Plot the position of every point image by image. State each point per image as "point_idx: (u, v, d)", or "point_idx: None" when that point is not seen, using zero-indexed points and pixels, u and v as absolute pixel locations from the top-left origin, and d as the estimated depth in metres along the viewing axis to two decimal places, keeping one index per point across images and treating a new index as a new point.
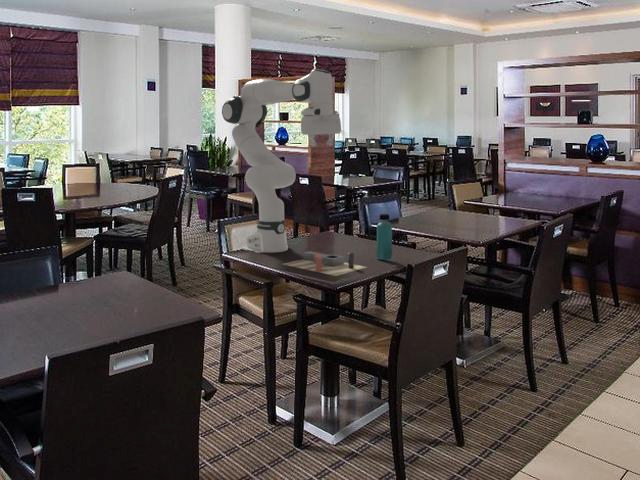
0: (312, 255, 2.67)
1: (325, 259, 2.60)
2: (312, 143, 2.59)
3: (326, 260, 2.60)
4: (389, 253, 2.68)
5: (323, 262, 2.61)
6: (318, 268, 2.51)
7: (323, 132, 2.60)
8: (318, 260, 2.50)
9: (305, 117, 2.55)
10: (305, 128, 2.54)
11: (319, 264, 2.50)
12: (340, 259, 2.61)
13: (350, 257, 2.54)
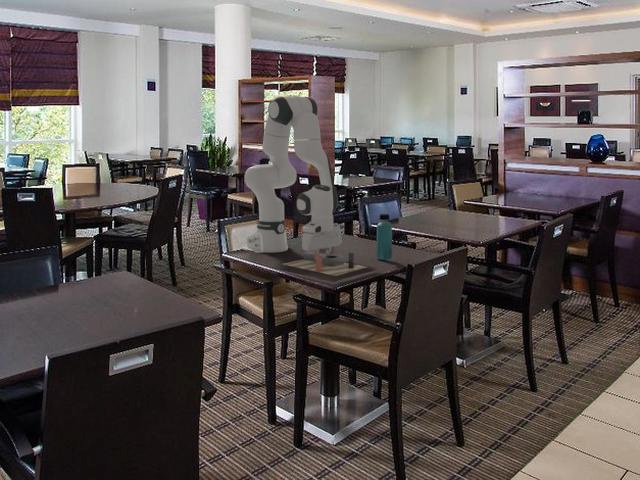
0: (312, 255, 2.67)
1: (325, 259, 2.60)
2: None
3: (326, 260, 2.60)
4: (389, 253, 2.68)
5: (323, 262, 2.61)
6: (318, 268, 2.51)
7: (324, 247, 2.63)
8: (318, 260, 2.50)
9: (306, 234, 2.58)
10: (306, 245, 2.57)
11: (319, 264, 2.50)
12: (340, 259, 2.61)
13: (350, 257, 2.54)
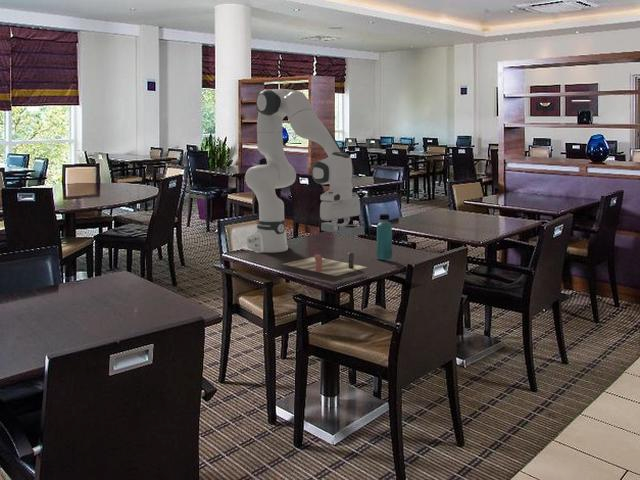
0: (330, 225, 2.58)
1: (344, 229, 2.51)
2: (335, 227, 2.54)
3: (345, 230, 2.51)
4: (389, 253, 2.68)
5: (342, 232, 2.52)
6: (318, 268, 2.51)
7: (342, 216, 2.54)
8: (318, 260, 2.50)
9: (324, 203, 2.48)
10: (324, 214, 2.48)
11: (319, 264, 2.50)
12: (359, 229, 2.51)
13: (350, 257, 2.54)
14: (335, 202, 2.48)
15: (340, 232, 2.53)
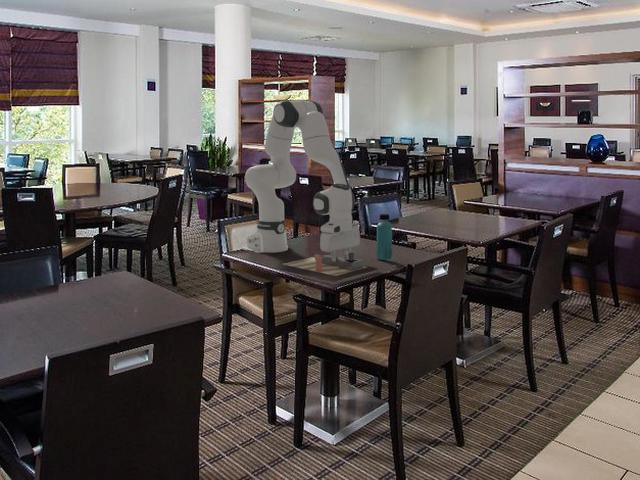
0: (330, 259, 2.61)
1: (344, 263, 2.54)
2: (333, 258, 2.56)
3: (345, 264, 2.53)
4: (389, 253, 2.68)
5: (342, 266, 2.55)
6: (318, 268, 2.51)
7: (342, 247, 2.56)
8: (318, 260, 2.50)
9: (324, 234, 2.51)
10: (324, 246, 2.50)
11: (319, 264, 2.50)
12: (359, 263, 2.54)
13: (350, 257, 2.54)
14: (335, 234, 2.51)
15: (340, 266, 2.55)
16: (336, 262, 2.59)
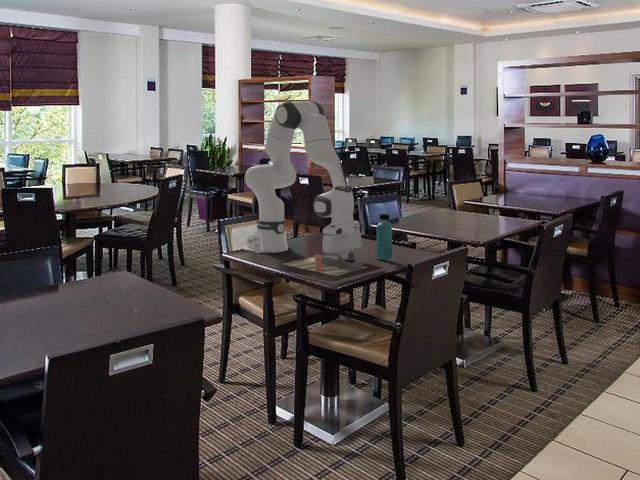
0: (329, 259, 2.60)
1: (343, 263, 2.53)
2: None
3: (344, 264, 2.53)
4: (389, 253, 2.68)
5: (341, 266, 2.54)
6: (318, 268, 2.51)
7: (344, 249, 2.60)
8: (318, 260, 2.50)
9: (327, 236, 2.54)
10: (327, 247, 2.53)
11: (319, 264, 2.50)
12: (359, 263, 2.54)
13: (350, 257, 2.54)
14: (337, 236, 2.54)
15: (339, 266, 2.55)
16: (335, 262, 2.58)
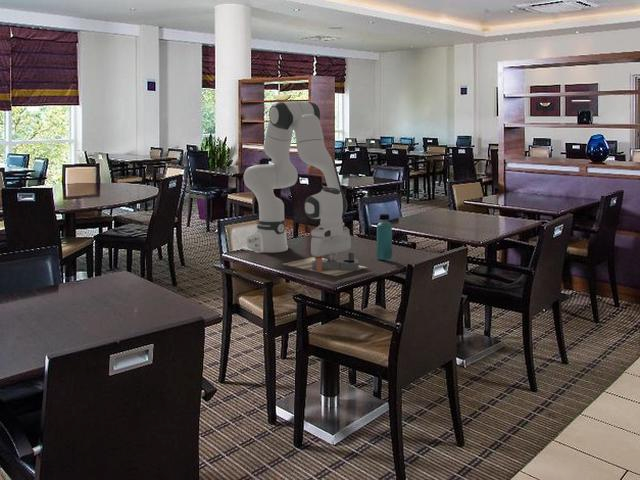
0: (325, 263, 2.52)
1: (348, 264, 2.51)
2: None
3: (349, 265, 2.51)
4: (389, 253, 2.68)
5: (345, 268, 2.51)
6: (318, 268, 2.51)
7: (333, 251, 2.55)
8: (318, 260, 2.50)
9: (315, 239, 2.49)
10: (315, 250, 2.49)
11: (319, 264, 2.50)
12: None
13: (350, 257, 2.54)
14: (326, 238, 2.49)
15: (343, 268, 2.51)
16: (333, 265, 2.53)
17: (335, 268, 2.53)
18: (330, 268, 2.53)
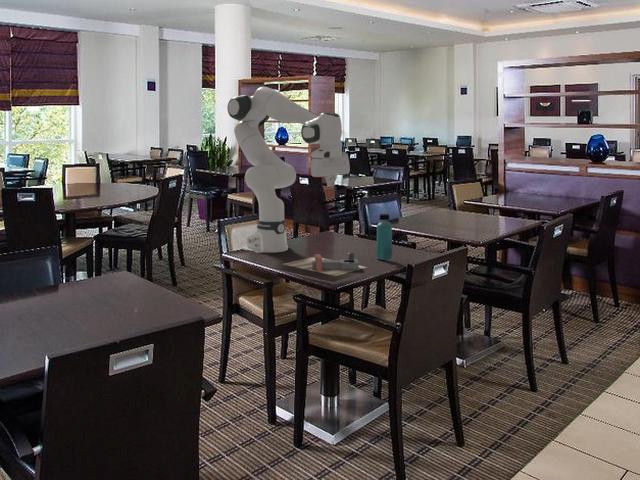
0: (325, 263, 2.52)
1: (348, 264, 2.51)
2: (328, 184, 2.67)
3: (349, 265, 2.51)
4: (389, 253, 2.68)
5: (345, 268, 2.51)
6: (318, 268, 2.51)
7: (332, 173, 2.65)
8: (318, 260, 2.50)
9: (315, 160, 2.60)
10: (315, 170, 2.59)
11: (319, 264, 2.50)
12: None
13: (350, 257, 2.54)
14: (325, 159, 2.60)
15: (343, 268, 2.51)
16: (333, 265, 2.53)
17: (335, 268, 2.53)
18: (330, 268, 2.53)
